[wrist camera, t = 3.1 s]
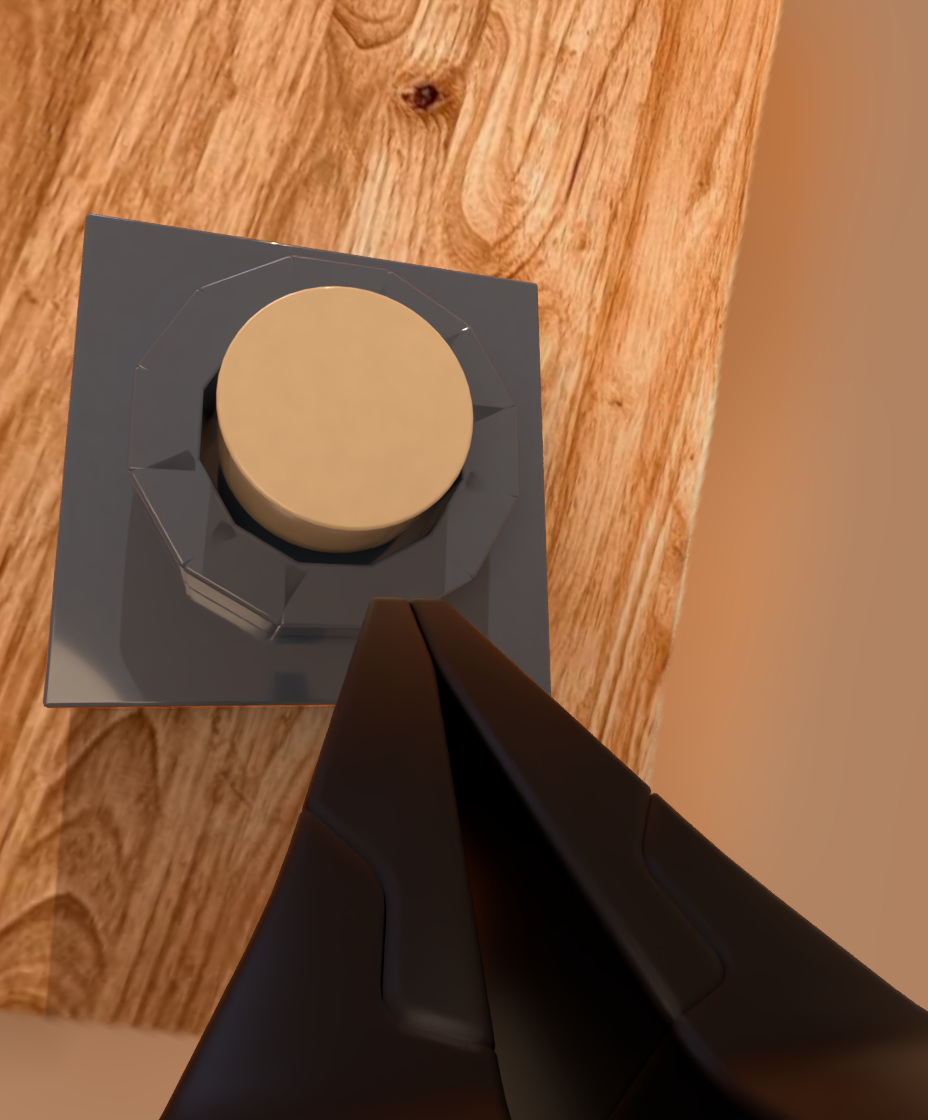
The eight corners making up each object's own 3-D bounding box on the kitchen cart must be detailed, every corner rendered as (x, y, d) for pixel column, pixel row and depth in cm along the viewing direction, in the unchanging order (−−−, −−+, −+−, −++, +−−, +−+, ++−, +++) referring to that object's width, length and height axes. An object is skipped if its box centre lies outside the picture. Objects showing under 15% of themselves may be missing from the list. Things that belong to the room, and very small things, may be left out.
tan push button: (444, 559, 15) (476, 536, 14) (210, 548, 14) (209, 522, 12) (442, 351, 16) (472, 303, 14) (222, 323, 15) (222, 267, 13)
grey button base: (478, 704, 22) (589, 701, 15) (87, 709, 19) (17, 707, 12) (473, 370, 24) (569, 239, 17) (117, 328, 21) (69, 151, 14)
